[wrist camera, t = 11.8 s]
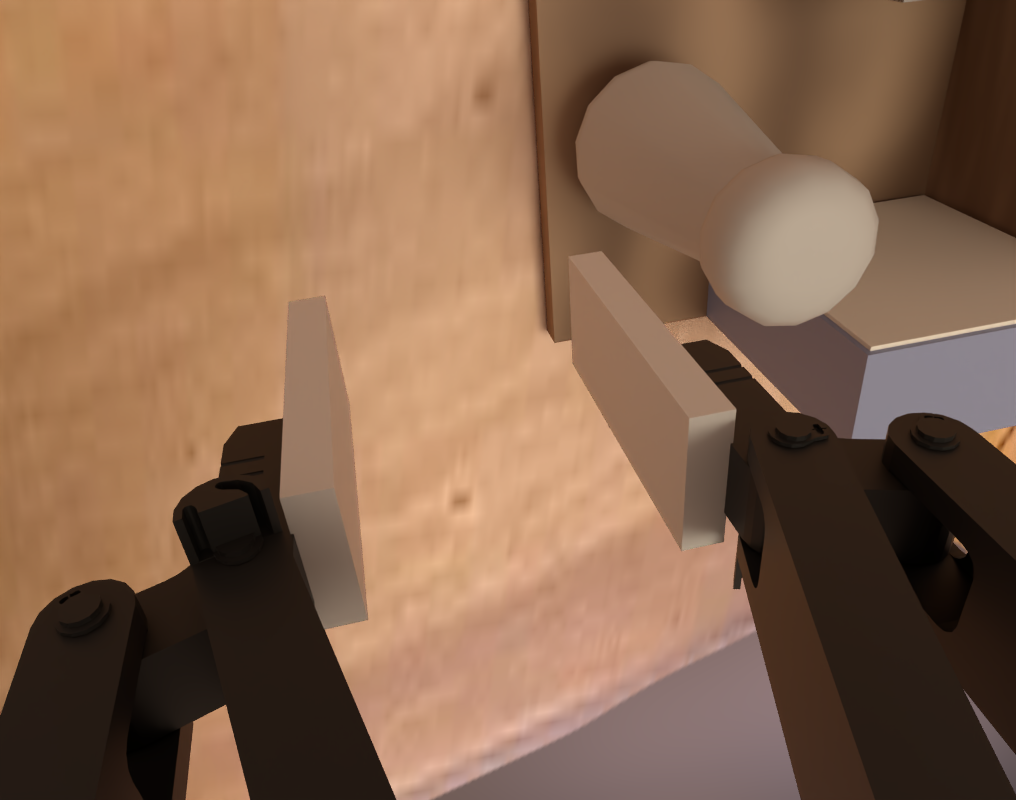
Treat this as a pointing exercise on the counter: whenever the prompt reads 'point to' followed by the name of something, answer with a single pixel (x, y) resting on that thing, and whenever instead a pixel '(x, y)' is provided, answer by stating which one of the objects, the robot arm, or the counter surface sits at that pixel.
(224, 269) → the counter surface
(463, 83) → the counter surface
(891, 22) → the wooden l-bracket
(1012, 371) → the book block
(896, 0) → the bookend
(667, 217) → the salt shaker
